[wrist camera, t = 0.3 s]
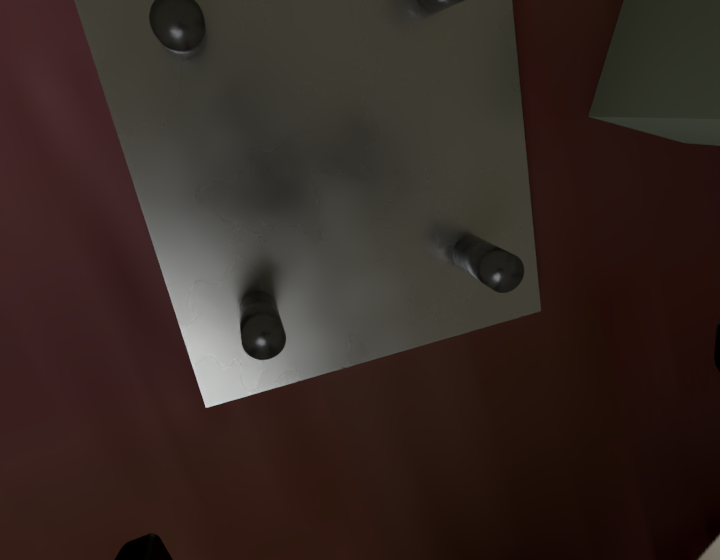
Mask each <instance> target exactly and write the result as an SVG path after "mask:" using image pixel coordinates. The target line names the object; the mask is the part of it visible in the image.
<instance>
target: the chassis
mask: <svg viewBox="0 0 720 560" xmlns="http://www.w3.org/2000/svg"><path fill="white" fill-rule="evenodd" d="M74 1H75V4H76V7H77V10H78V13H79V16H80V19H81V23H82V26H83V29H84V32H85V35H86V38H87V41H88V44H89V47H90V50H91V53H92V57H93V60H94V63H95V66H96V69H97V72H98V75H99V78H100V81H101V84H102V88H103V91H104V94H105V97H106V100H107V103H108V106H109V109H110V112H111V115H112V119H113V122H114V125H115V128H116V131H117V134H118V137H119V140H120V143H121V146H122V149H123V153H124V156H125V159H126V162H127V165H128V168H129V171H130V174H131V177H132V180H133V184H134V187H135V190H136V193H137V196H138V199H139V202H140V205H141V208H142V211H143V215H144V218H145V221H146V224H147V227H148V230H149V233H150V236H151V239H152V242H153V245H154V249H155V252H156V255H157V258H158V261H159V264H160V267H161V270H162V273H163V276H164V280H165V283H166V286H167V289H168V292H169V295H170V298H171V301H172V304H173V307H174V311H175V314H176V317H177V320H178V323H179V326H180V329H181V332H182V335H183V338H184V341H185V345H186V348H187V351H188V354H189V357H190V360H191V363H192V366H193V369H194V372H195V376H196V379H197V382H198V385H199V388H200V391H201V394H202V397H203V400H204V403H205V407H206V408H208V407H211V406H214V405H218V404H221V403H225V402H228V401H232V400H235V399H239V398H242V397H246V396H249V395H252V394H256V393H259V392H263V391H266V390H270V389H273V388H277V387H280V386H284V385H287V384H291V383H294V382H297V381H301V380H304V379H308V378H311V377H315V376H318V375H322V374H325V373H329V372H332V371H335V370H339V369H342V368H346V367H349V366H353V365H356V364H360V363H363V362H367V361H370V360H373V359H377V358H380V357H384V356H387V355H391V354H394V353H398V352H401V351H405V350H408V349H411V348H415V347H418V346H422V345H425V344H429V343H432V342H436V341H439V340H443V339H446V338H449V337H453V336H456V335H460V334H463V333H467V332H470V331H474V330H477V329H481V328H484V327H488V326H491V325H494V324H498V323H501V322H505V321H508V320H512V319H515V318H519V317H522V316H526V315H529V314H532V313H536V312H539V311H541V306H540V295H539V285H538V274H537V263H536V252H535V242H534V231H533V220H532V209H531V199H530V188H529V177H528V166H527V156H526V145H525V134H524V123H523V113H522V102H521V91H520V80H519V70H518V59H517V48H516V37H515V27H514V16H513V5H512V0H74Z"/></svg>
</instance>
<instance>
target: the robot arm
mask: <svg viewBox="0 0 720 560" xmlns="http://www.w3.org/2000/svg"><path fill="white" fill-rule="evenodd" d="M714 360H715V364H716V367H717V369H718V370H719V372H720V319H719V321H718V323H717V329H716V341H715V353H714ZM115 560H173V559H172V558H171V556H170V554H169V552H168V551H167V549H166V547H165V546H164V544H163V542H162V540H161V539H160V537H159V536H158V535H156V534H154V533H150V534H147V535H145V536H142V537H139V538H137V539H134V540H132V541H129V542H127V543H126V544H125V545H124V546H123V547H122V548H121V550H120V551H119V553H118V555H117V556H116V558H115Z"/></svg>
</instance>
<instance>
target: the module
mask: <svg viewBox="0 0 720 560" xmlns="http://www.w3.org/2000/svg"><path fill="white" fill-rule="evenodd" d="M588 117H592V118H595V119H599V120H602V121H606V122H610V123H613V124H617V125H621V126H624V127H628V128H632V129H635V130H639V131H643V132H646V133H650V134H653V135H657V136H661V137H664V138H668V139H672V140H675V141H679V142H683V143H690V144H704V145H718V146H720V0H623V4H622V7H621V10H620V14H619V17H618V20H617V24H616V27H615V30H614V33H613V37H612V40H611V43H610V47H609V50H608V53H607V56H606V60H605V63H604V66H603V70H602V73H601V76H600V80H599V83H598V86H597V89H596V93H595V96H594V99H593V103H592V106H591V109H590V112H589V116H588Z"/></svg>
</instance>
